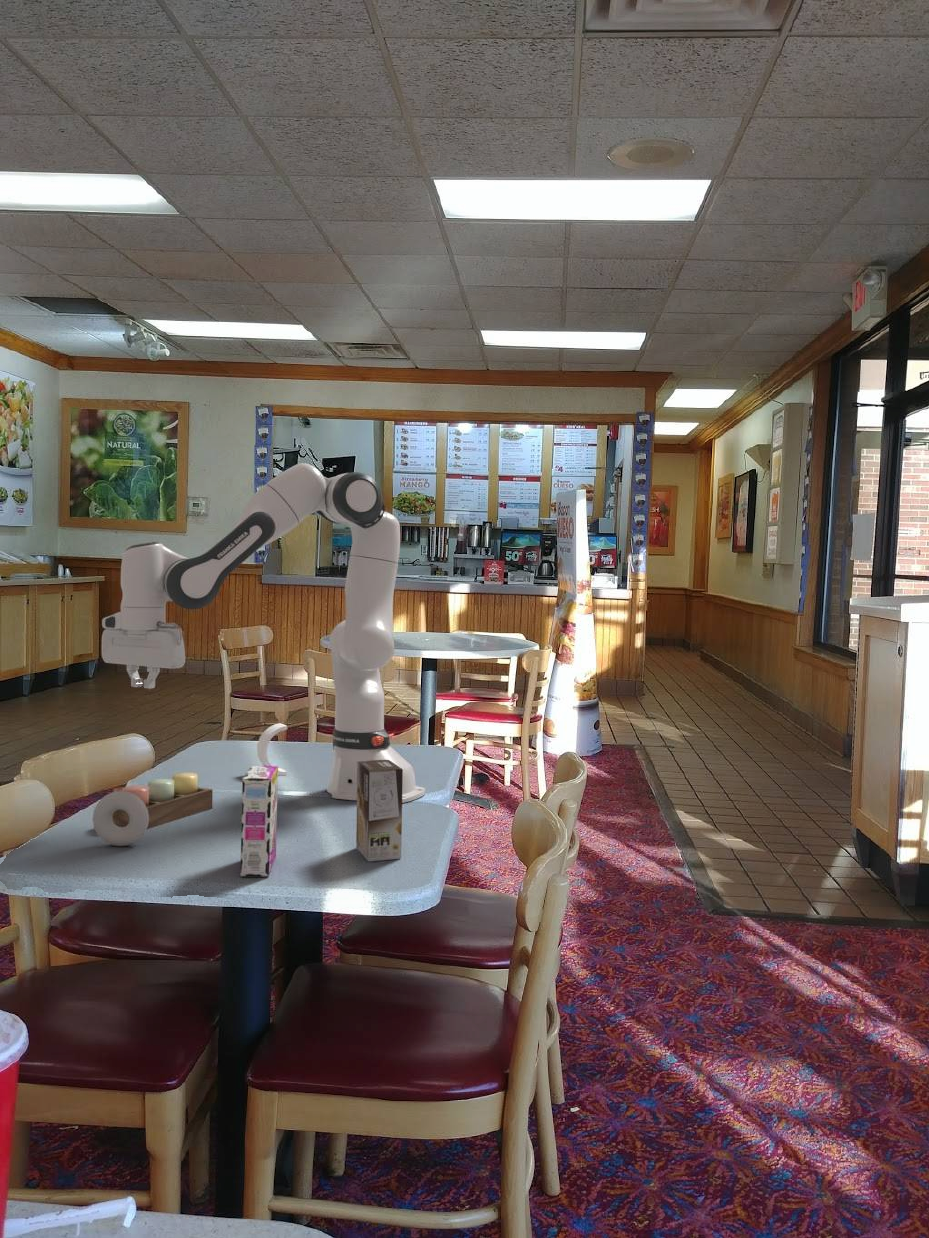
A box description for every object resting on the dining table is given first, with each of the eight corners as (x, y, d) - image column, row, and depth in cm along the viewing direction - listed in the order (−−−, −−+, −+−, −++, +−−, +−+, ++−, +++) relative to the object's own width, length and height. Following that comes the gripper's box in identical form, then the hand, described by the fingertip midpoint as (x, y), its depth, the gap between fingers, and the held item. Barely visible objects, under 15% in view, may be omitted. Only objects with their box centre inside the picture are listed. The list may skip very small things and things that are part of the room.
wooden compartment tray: (212, 808, 201) (212, 789, 201) (134, 832, 182) (134, 811, 182) (183, 803, 204) (184, 784, 204) (104, 826, 185) (104, 806, 185)
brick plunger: (154, 807, 188) (154, 787, 188) (134, 813, 183) (135, 792, 183) (135, 804, 190) (135, 784, 190) (115, 809, 186) (115, 789, 186)
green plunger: (179, 800, 194) (179, 780, 194) (161, 805, 190) (161, 785, 189) (160, 797, 196) (160, 777, 196) (142, 802, 192) (142, 782, 192)
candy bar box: (270, 877, 158) (271, 778, 157) (239, 878, 157) (240, 778, 156) (278, 857, 169) (279, 764, 168) (249, 857, 168) (249, 764, 167)
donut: (151, 843, 175) (151, 789, 175) (145, 849, 172) (145, 793, 171) (96, 842, 175) (96, 788, 175) (89, 848, 172) (89, 792, 171)
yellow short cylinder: (202, 793, 200) (202, 774, 200) (185, 798, 196) (185, 779, 195) (184, 790, 202) (184, 771, 202) (167, 795, 198) (167, 776, 198)
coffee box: (402, 859, 169) (404, 768, 168) (367, 862, 167) (369, 771, 166) (387, 844, 178) (389, 758, 177) (354, 847, 175) (355, 760, 175)
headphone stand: (286, 775, 234) (287, 726, 233) (262, 777, 231) (263, 727, 230) (280, 771, 238) (281, 723, 237) (256, 773, 235) (257, 724, 234)
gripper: (192, 622, 197) (192, 689, 197) (119, 618, 206) (119, 682, 207) (170, 623, 191) (169, 693, 192) (96, 619, 200) (96, 685, 201)
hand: (143, 687), depth 199 cm, fingers closed
